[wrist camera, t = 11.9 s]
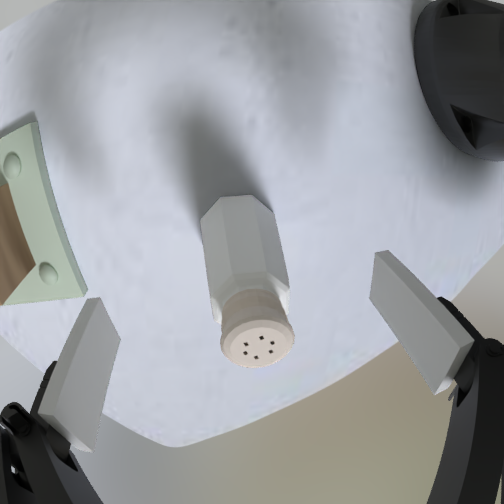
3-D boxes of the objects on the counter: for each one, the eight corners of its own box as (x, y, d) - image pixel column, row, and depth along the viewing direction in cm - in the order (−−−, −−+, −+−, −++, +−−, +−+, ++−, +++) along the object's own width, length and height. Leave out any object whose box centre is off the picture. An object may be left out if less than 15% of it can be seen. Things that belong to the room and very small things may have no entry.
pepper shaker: (257, 178, 18) (303, 261, 9) (288, 244, 21) (342, 359, 11) (184, 214, 19) (154, 326, 9) (221, 275, 22) (228, 402, 12)
